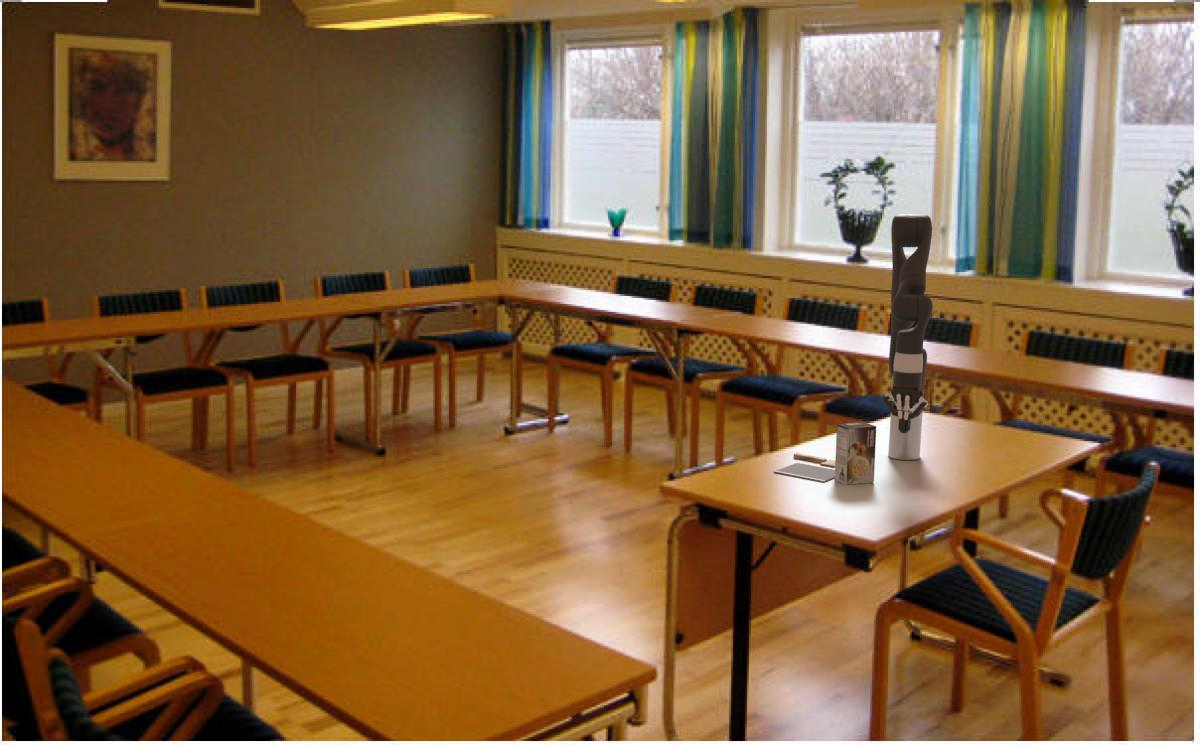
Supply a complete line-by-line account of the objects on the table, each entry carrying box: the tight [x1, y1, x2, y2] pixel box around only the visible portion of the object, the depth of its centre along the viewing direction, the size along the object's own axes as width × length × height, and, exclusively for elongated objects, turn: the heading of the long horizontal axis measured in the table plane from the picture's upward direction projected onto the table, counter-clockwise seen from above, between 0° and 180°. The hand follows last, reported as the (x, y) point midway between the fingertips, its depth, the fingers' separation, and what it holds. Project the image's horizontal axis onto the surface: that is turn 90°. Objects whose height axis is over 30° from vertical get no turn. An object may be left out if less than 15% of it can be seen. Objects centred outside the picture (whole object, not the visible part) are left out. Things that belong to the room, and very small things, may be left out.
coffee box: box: [834, 421, 877, 486], centre depth 374 cm, size 9×6×16 cm
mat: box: [773, 461, 835, 483], centre depth 384 cm, size 14×16×1 cm
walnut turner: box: [793, 452, 835, 469], centre depth 396 cm, size 18×6×1 cm, turn 53°
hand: (903, 432), depth 364 cm, fingers closed
